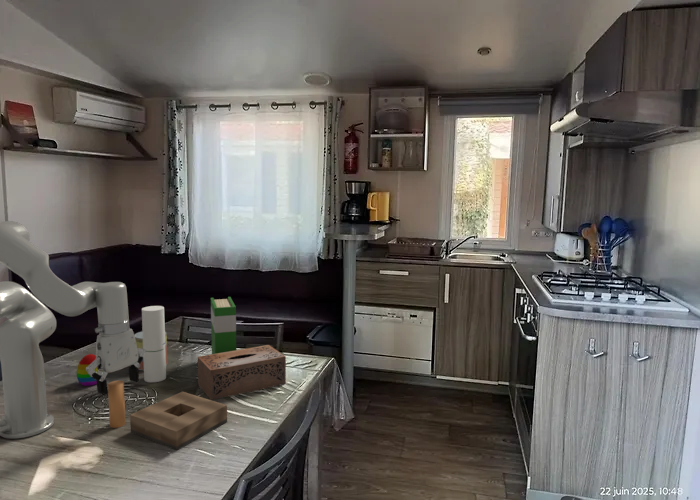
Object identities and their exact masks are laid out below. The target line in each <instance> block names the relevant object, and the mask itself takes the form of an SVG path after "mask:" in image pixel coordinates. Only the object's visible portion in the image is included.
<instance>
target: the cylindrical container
mask: <svg viewBox="0 0 700 500" xmlns="http://www.w3.org/2000/svg"><path fill="white" fill-rule="evenodd" d="M141 321H142V322H141V326H142V327H141V328H142V330H141V331H143V349H144V350H145V353H144V356H143V358H144V370H143V381H144V382H147V383H157V382H158V383H159V382H162V381H164V380H166V378H167V365H166V352H165V331H166V327H165V325H166V324H165V307H164V306H163V305H150V306H145V307H142V308H141Z"/></svg>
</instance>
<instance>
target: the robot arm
mask: <svg viewBox="0 0 700 500" xmlns="http://www.w3.org/2000/svg"><path fill="white" fill-rule="evenodd" d="M30 237H31V235H30V231H29V230H28V229H27V227H25V226H24V225H23V224H21V223H19V222H18V221H14V220H5V221H0V264H1V265H2V266H4V267H5V268H7V269H9V270H10V271H12V272H13V273H14V274H16V275H18V277H20V278H21V279H23V280H24V282H25V284H26V286H27V288H29V290H30V291H31V292H30V291H29V290H28V289H26V288H25V287H24V286H22V285H21V284H20V283H17V282H15V281H8V280H7V281H6V280H4V281H3V280H2V281H0V320H1V319H4V318H6V320H5V321H3V322H2V323H1V324H0V364H1V377H2V391H3V403H4V404H3V405H4V414H5V415H2V416H0V436H1V437H2V438H5V439H23V438H29V437H33V436H35V435H38V434H41V433H43V432H46V431H47V430H49V429H50V428H51V427H52V426H53V425H54V424H55V418H54V416H53V415H52V414H48V408H47V407H48V404H47V392H46V391H47V390H46V374H45V361H44V357H43V355H42V351H41V349H40V346H39V345H40V343H42V342H43V341H45V340H46V339H48V338H49V337H50V336H51V335H53V333H54V332H55V331H56V329H57V319H56V317H55V315H54V313H53V312H52V310H54V312H56V313H59V314H61V315H62V316H63V315H64V316H66V317H77V316H80V315H83V313H84V314H85V312H87V311H88V310H89V311H90V310H91V309H94V308H96V309H97V321H98V323H97V326H98V327H96V328H94V332H95V333H96V334H98V335H97V336H96V342H95V356H96V359H95V360H94V361H93V362H92V363H91V364H90V365H89V366H88V367H86V371H87V372H88V374H89V375H90V377H92V378H94V379H95V380H96V381H97V384H96V390H97V393H99V394H100V395H102V396H106V395H108V381H107V380H106V378H107V376H108V374H109V373H114V372H117V371H120V370H122V369H125V368H128V367H129V368H128V375H129V381H131V382H134V383H139V381H140V378H139V377H140V373H139V371H140V370H138V368H139V367H140V363H141V362H142V360H143V356H144V353H145V350H144V349H140V348H137V344H136V340H135V336H134V335H135V332H134V331H133V330H134V329H132V328H130V319H129V316H130V315H129V306H128V305H129V303H128V292H127V286H126V283H123V282H121V281H109V282H95V281H82V282H79V283H77V284H73V285H69V283H67V282H65V281H63V280H62V279H61V278H59V277H58V276H57V275H56V274H55V273H54V272H53V271H52V269H51V268H50V263H49V260H50V256H49V254H48V252H46V251H44V250H43V249H42V248H41V247H39V246H37V245H36V244H35V243H32V242H31V241H30V239H31V238H30ZM48 307H49V308H50V309H52V310H50V309H49V308H48ZM96 367H97V369H98V371H97V373H96V372H95V370H94V369H95V368H96ZM102 372H103V373H102Z"/></svg>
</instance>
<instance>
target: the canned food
mask: <svg viewBox="0 0 700 500" xmlns="http://www.w3.org/2000/svg"><path fill="white" fill-rule="evenodd" d="M134 336H135V340H136V344H137V348H140V349H143V331H142V330H141V331H138V332H136V333H134ZM167 341H168V337H167V331H166V330H165V352H166V366H167V365H168V348H167V346H168V344H167ZM138 371H144V358H143V360H142V362H141V363H140V367H139V368H138Z"/></svg>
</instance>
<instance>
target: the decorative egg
mask: <svg viewBox="0 0 700 500" xmlns="http://www.w3.org/2000/svg"><path fill="white" fill-rule="evenodd" d="M95 359H96V354H93V353H88V354H86V355H85V356H83V357H82V358H81V359H80V361H79V362H78V365H77V367H76V379H77V380H78V382H79V384H81V385H82V386H85V387H89V386H90V387H91V386H97V381H96V380H95V379H94V378H92V377H90V375H89V374H88V372H87V371H86V367H88V366H89V365H90V364H91V363H92V362H93V361H94V360H95ZM94 370H95V372H96V373H97V371H98V369H97V367H96V368H95V369H94ZM102 373H103V372H102Z"/></svg>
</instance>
